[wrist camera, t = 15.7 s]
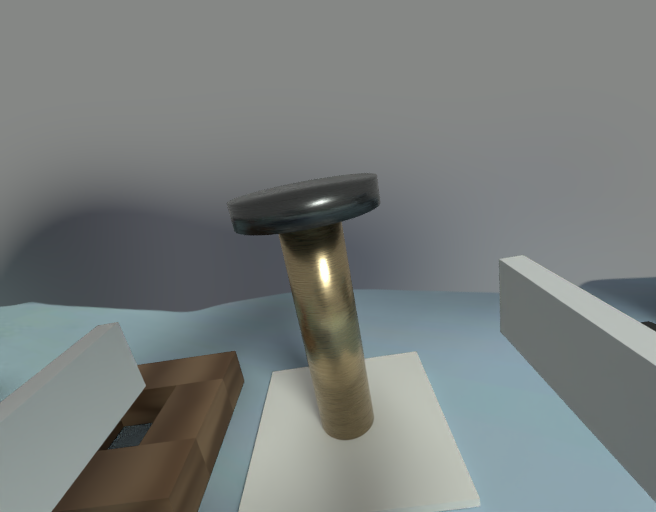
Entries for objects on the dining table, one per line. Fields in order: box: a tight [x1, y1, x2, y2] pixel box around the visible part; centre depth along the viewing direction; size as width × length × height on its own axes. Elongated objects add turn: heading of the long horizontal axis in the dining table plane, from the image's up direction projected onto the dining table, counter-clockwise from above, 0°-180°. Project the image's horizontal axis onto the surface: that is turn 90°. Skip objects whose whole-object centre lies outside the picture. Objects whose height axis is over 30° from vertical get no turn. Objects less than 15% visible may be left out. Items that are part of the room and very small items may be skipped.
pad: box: [238, 352, 480, 512], centre depth 26 cm, size 14×14×1 cm
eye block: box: [52, 351, 244, 512], centre depth 26 cm, size 14×14×4 cm
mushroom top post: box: [227, 173, 380, 440], centre depth 23 cm, size 9×9×18 cm
